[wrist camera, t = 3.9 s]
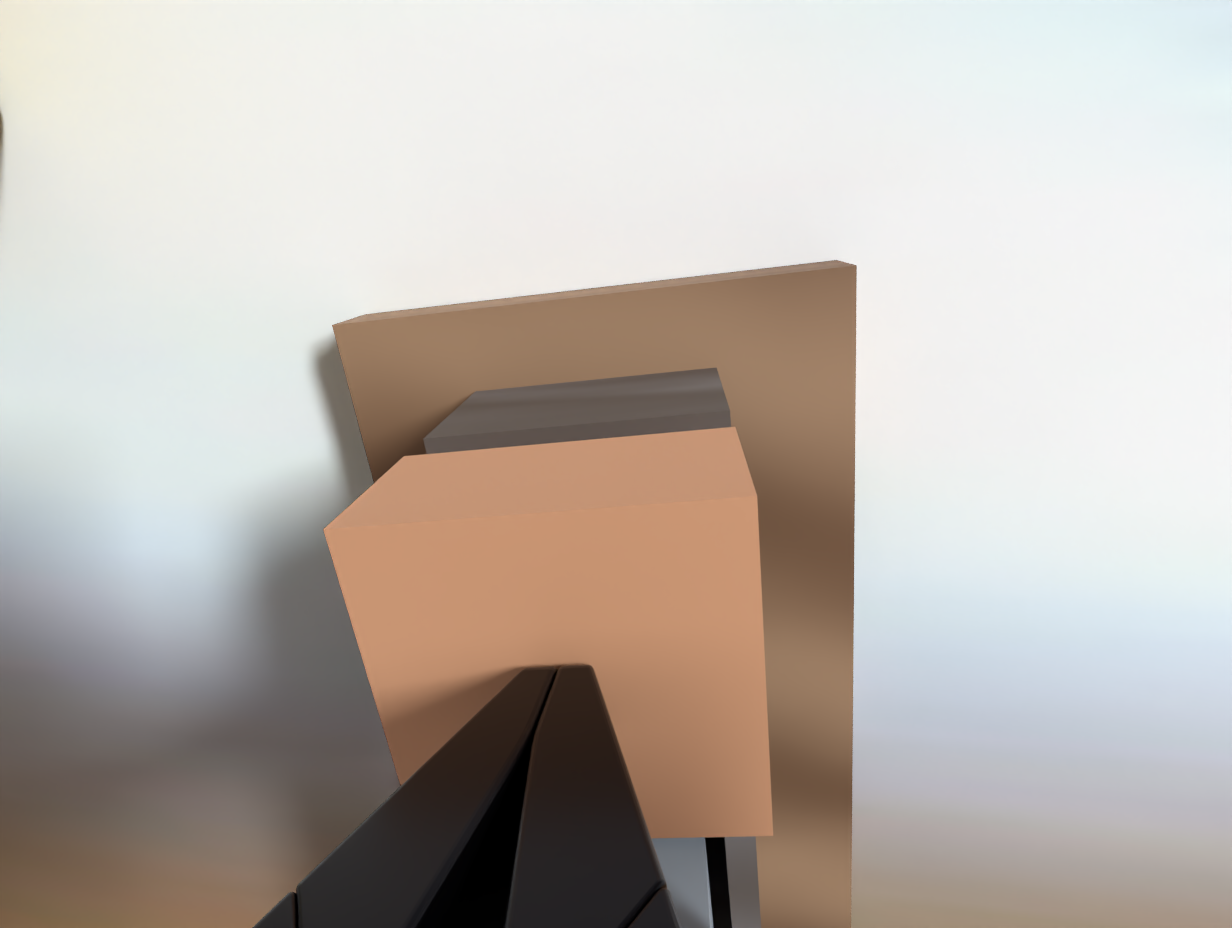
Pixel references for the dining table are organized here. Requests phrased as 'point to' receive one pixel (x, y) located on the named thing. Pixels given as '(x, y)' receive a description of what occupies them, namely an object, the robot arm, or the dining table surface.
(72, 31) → the dining table surface
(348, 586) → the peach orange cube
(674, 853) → the slate button
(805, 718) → the walnut button board
